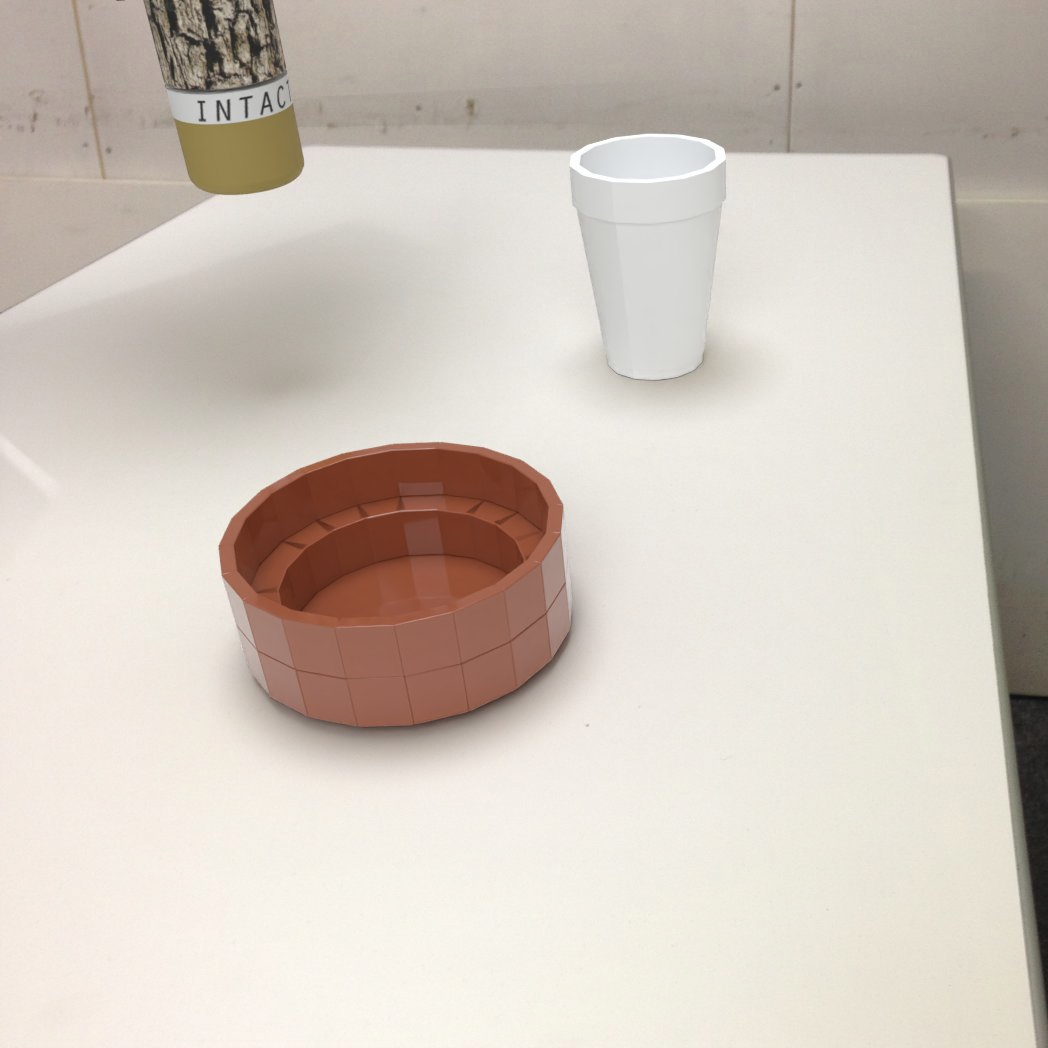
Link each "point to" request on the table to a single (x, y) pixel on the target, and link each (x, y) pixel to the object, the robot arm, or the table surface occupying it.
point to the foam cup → (651, 246)
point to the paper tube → (228, 93)
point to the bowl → (399, 582)
